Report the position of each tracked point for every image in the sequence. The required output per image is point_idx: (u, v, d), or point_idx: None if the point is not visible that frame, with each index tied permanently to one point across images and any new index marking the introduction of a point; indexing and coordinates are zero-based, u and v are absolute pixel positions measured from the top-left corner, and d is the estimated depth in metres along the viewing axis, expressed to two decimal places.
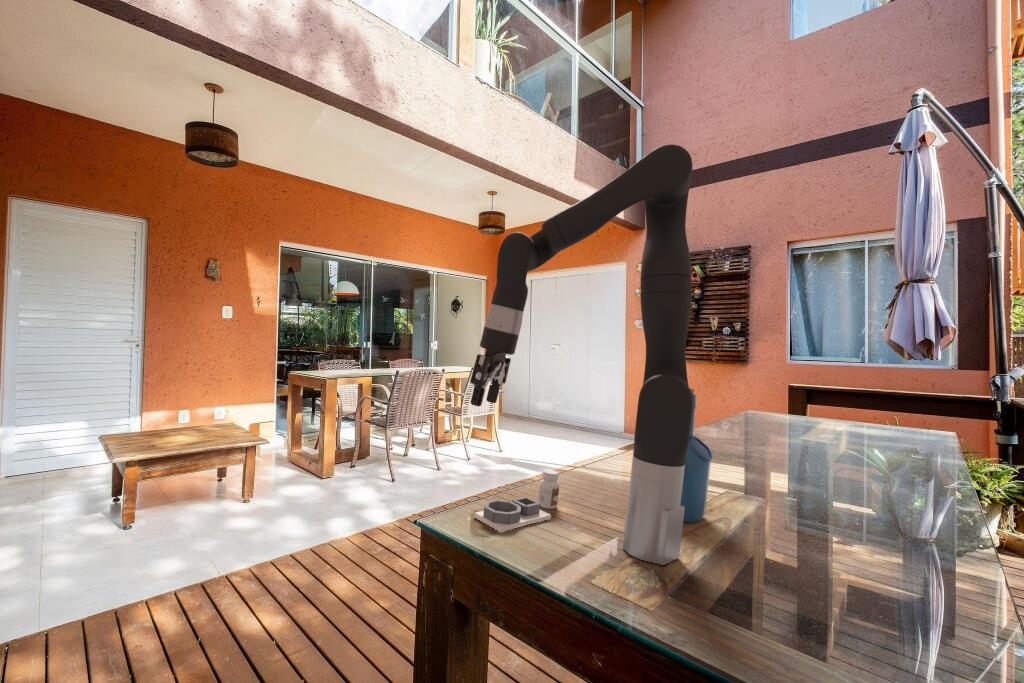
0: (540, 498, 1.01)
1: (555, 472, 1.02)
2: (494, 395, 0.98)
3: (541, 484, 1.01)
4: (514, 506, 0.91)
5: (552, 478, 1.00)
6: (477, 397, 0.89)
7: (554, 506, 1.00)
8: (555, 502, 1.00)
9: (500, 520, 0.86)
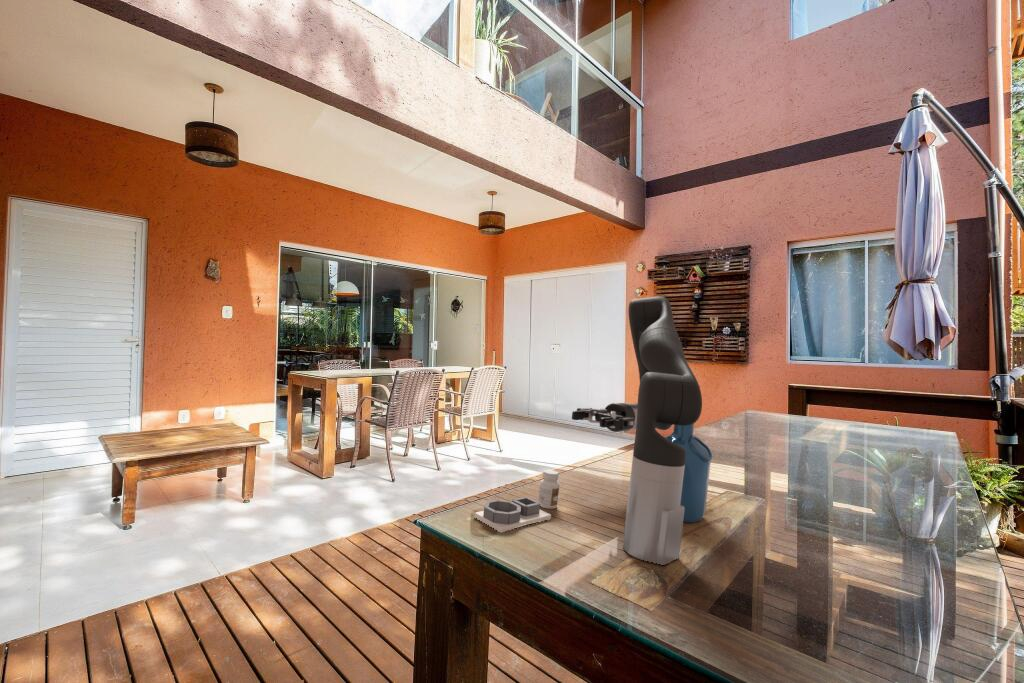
0: (540, 498, 1.01)
1: (555, 472, 1.02)
2: None
3: (541, 484, 1.01)
4: (514, 506, 0.91)
5: (552, 478, 1.00)
6: None
7: (554, 506, 1.00)
8: (555, 502, 1.00)
9: (500, 520, 0.86)
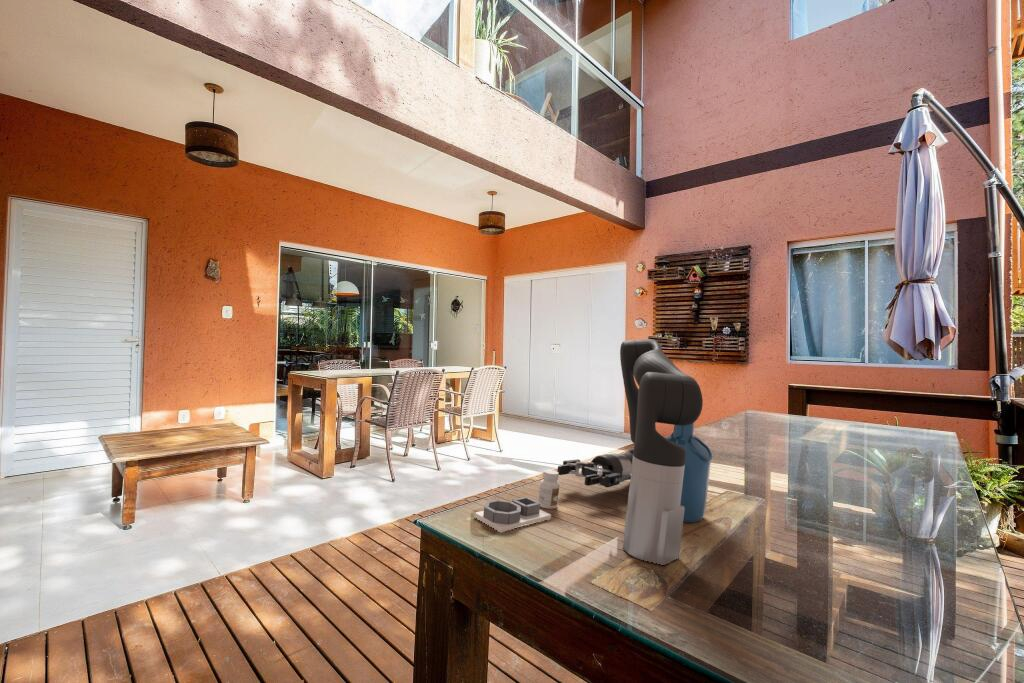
0: (540, 498, 1.01)
1: (555, 472, 1.02)
2: None
3: (541, 484, 1.01)
4: (514, 506, 0.91)
5: (552, 478, 1.00)
6: None
7: (554, 506, 1.00)
8: (555, 502, 1.00)
9: (500, 520, 0.86)
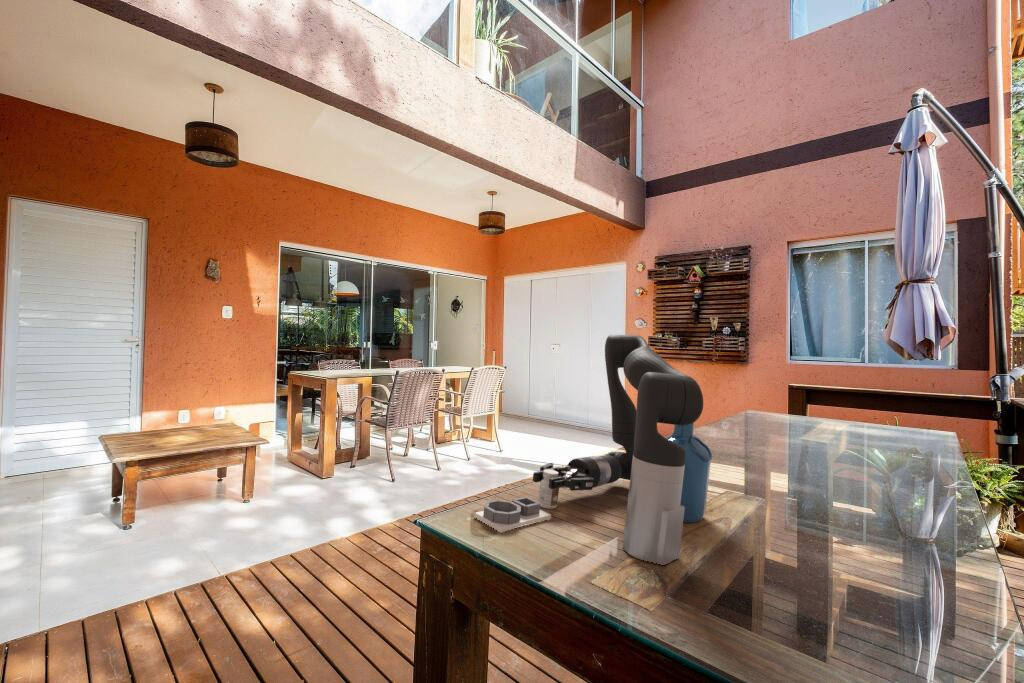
0: (540, 498, 1.01)
1: (555, 472, 1.02)
2: None
3: (541, 484, 1.01)
4: (514, 506, 0.91)
5: (552, 477, 1.00)
6: None
7: (554, 506, 1.00)
8: (555, 502, 1.00)
9: (500, 520, 0.86)
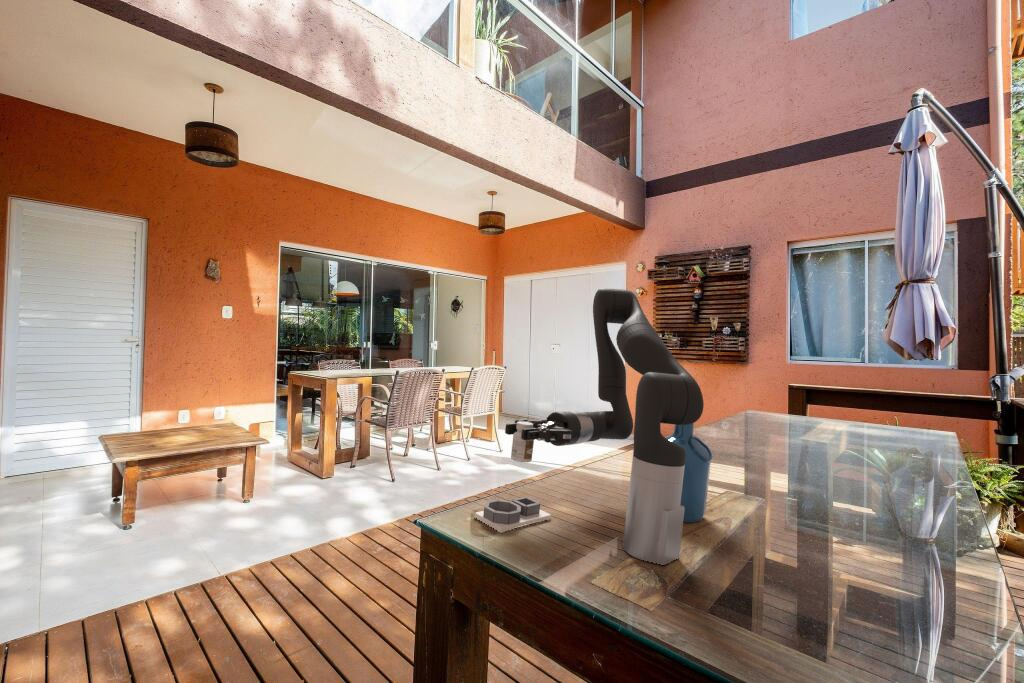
0: (513, 451, 0.92)
1: (529, 423, 0.93)
2: None
3: (514, 436, 0.92)
4: (514, 506, 0.91)
5: (525, 428, 0.91)
6: None
7: (528, 460, 0.91)
8: (530, 456, 0.92)
9: (500, 520, 0.86)
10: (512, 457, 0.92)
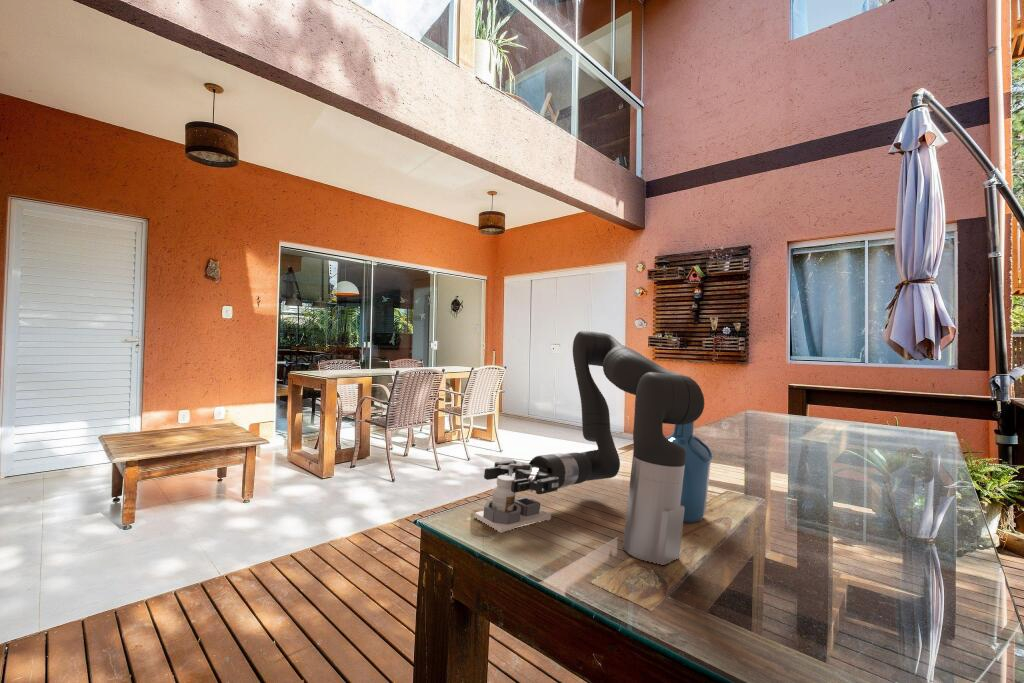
0: (493, 508, 0.89)
1: (510, 478, 0.90)
2: None
3: (494, 492, 0.89)
4: (514, 506, 0.91)
5: (506, 484, 0.88)
6: None
7: None
8: None
9: (500, 520, 0.86)
10: None
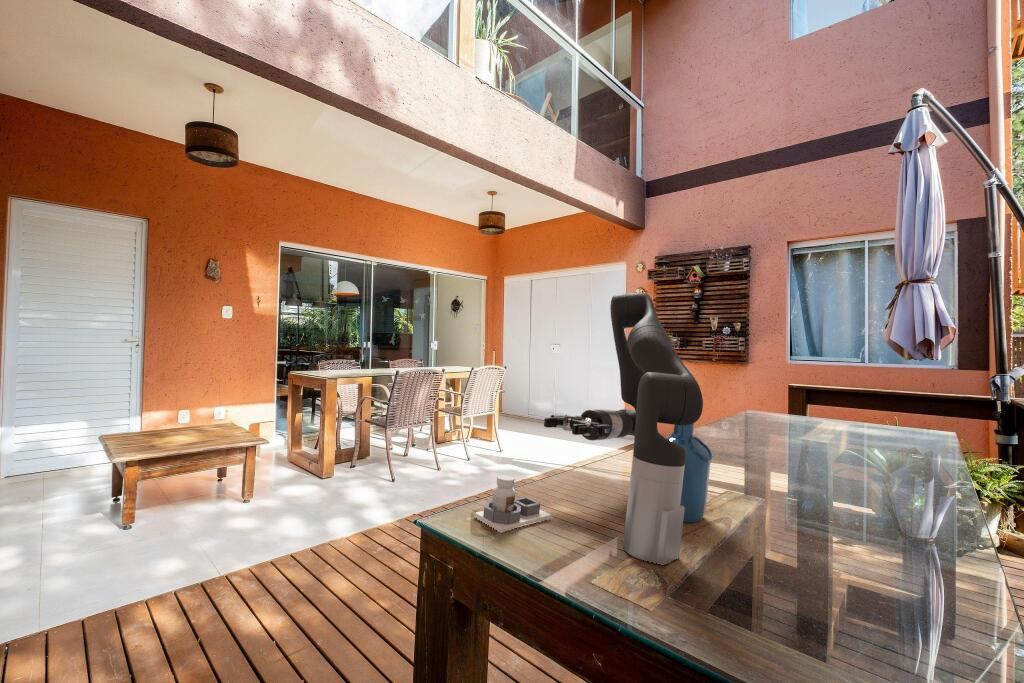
0: (493, 507, 0.89)
1: (510, 478, 0.90)
2: None
3: (494, 492, 0.89)
4: (514, 506, 0.91)
5: (506, 484, 0.88)
6: None
7: None
8: None
9: (500, 520, 0.86)
10: None
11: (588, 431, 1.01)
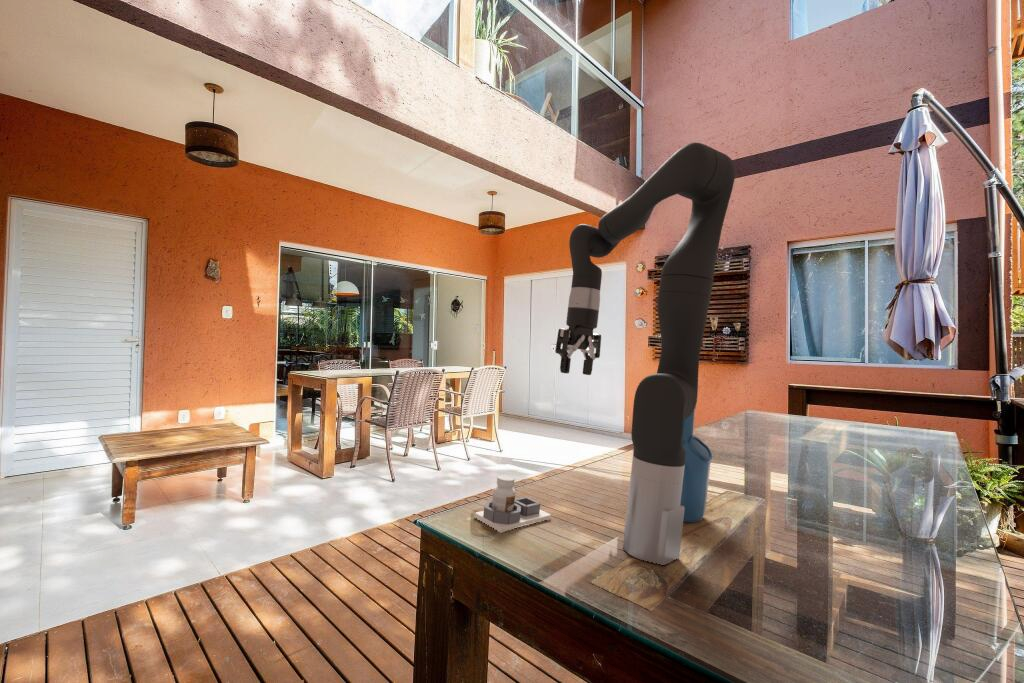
0: (493, 508, 0.89)
1: (511, 478, 0.90)
2: (588, 368, 1.12)
3: (494, 492, 0.89)
4: (514, 506, 0.91)
5: (506, 484, 0.88)
6: (564, 365, 1.05)
7: None
8: None
9: (500, 520, 0.86)
10: None
11: None
